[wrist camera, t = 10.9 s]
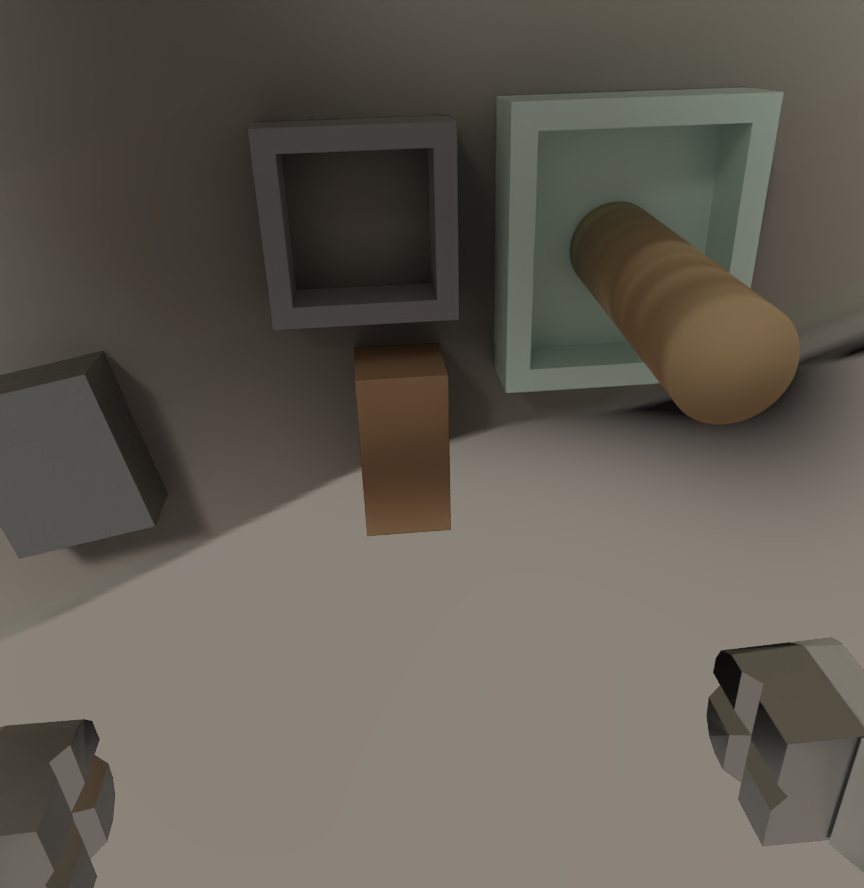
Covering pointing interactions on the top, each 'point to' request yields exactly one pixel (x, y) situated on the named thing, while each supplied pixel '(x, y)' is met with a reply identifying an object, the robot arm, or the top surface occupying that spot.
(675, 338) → the dowel
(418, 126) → the socket
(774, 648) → the robot arm
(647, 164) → the tray
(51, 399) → the steel block
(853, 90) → the top surface
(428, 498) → the block
